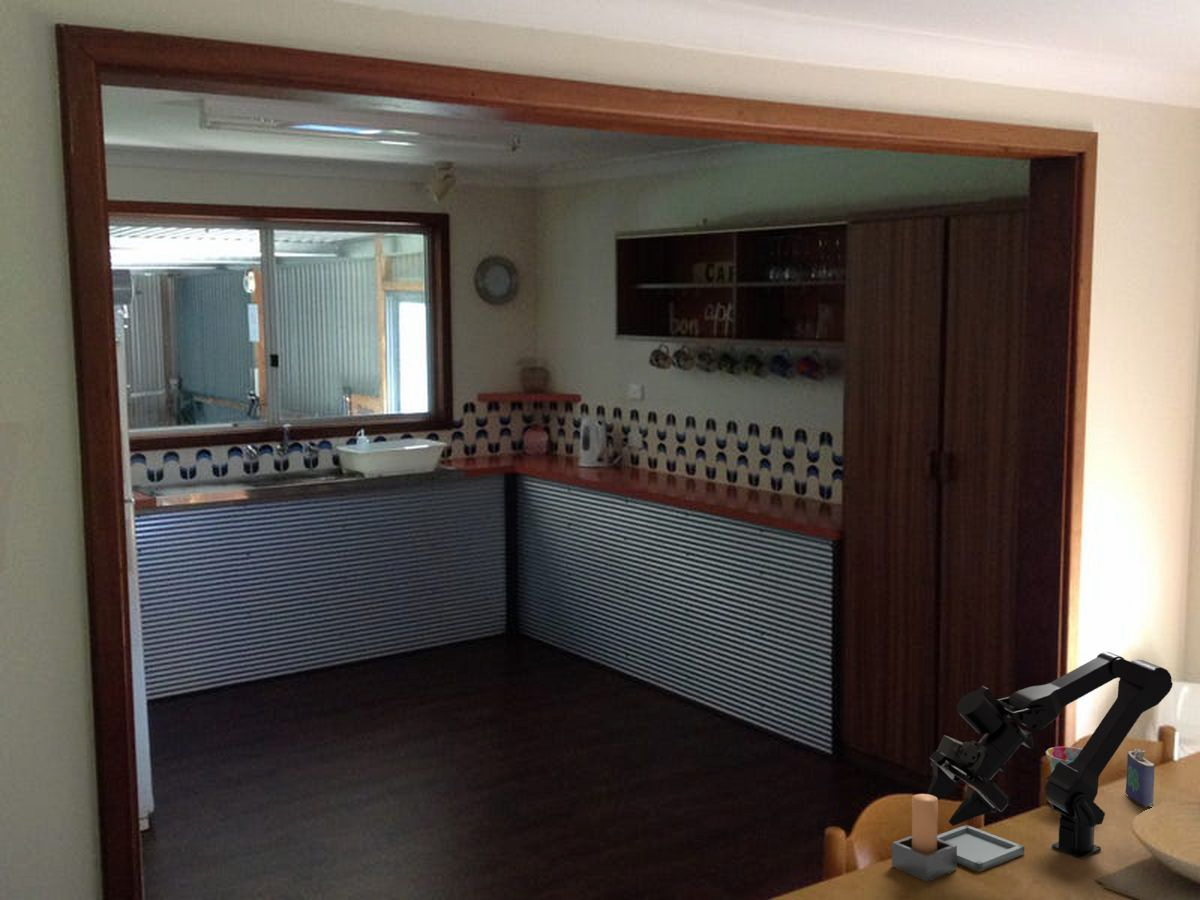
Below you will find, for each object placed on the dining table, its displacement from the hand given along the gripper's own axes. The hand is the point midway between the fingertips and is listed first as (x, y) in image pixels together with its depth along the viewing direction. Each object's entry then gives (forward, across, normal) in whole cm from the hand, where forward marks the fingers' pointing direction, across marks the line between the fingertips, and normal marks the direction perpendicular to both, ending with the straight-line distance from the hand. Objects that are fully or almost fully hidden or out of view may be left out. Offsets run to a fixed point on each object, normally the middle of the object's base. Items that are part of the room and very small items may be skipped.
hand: (937, 814), depth 231 cm
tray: (0, -4, +14) cm, 14 cm away
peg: (+9, 0, +5) cm, 10 cm away
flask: (-33, -18, +46) cm, 60 cm away
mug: (-23, -20, +37) cm, 48 cm away
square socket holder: (+9, 0, +5) cm, 10 cm away
